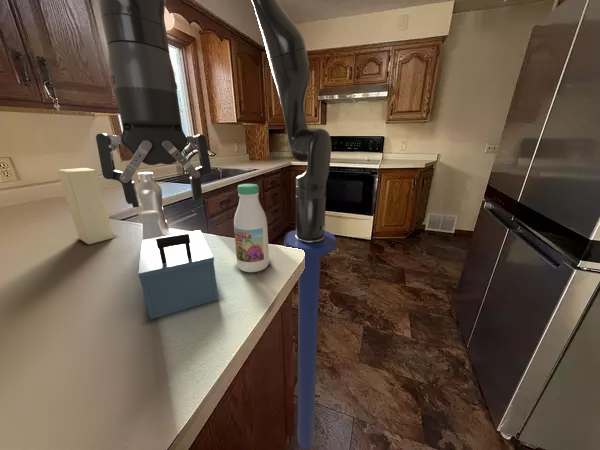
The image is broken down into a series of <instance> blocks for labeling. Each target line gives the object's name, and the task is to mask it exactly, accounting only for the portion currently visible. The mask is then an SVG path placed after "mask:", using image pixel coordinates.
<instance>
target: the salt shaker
mask: <svg viewBox="0 0 600 450" xmlns="http://www.w3.org/2000/svg"><path fill="white" fill-rule="evenodd" d="M137 220H138V222H139V223H141V224H142V240H143V239H149V238H155V237H162V236H163V233H162V231H161V229H160V227H159V224H158V222H157V221H158V220H159V214H158V212H156V211H144V212H143V211H141V212H139V213H138V214H137Z"/></svg>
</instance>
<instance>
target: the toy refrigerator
mask: <svg viewBox="0 0 600 450" xmlns="http://www.w3.org/2000/svg"><path fill="white" fill-rule="evenodd" d="M57 172H58V176H59V179H60V182H61V185H62V189H63V192H64V195H65V199H66V201H67V205H68V208H69V212H70V214H71V218H72V220H73V224H74V227H75V230H76V233H77V236H78V239H79V240H80V241H82V242H84V243H85V244H87V245H92V244H96V243H99V242H103V241H107V240H110V239H114V232H113V228H112V225H111V220H110V217H109V213H108V210H107V209H108V208H107V205H106V201H105V197H104V193H103V190H102V185H101V182H100V179H99V174H98V171H97V169H93V168H90V167H89V168H88V167H79V168H78V167H76V168H64V169H58V170H57Z"/></svg>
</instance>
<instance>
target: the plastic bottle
mask: <svg viewBox="0 0 600 450" xmlns="http://www.w3.org/2000/svg"><path fill="white" fill-rule="evenodd" d="M137 176H138V180H139V181H140V182H139V183H138V185H137V187H136V192H137V196H138V201H139V205H140V207H141V210H142V212H144V211H156V212H158V214H159V220H158V221H157V222H158V224H159V227H160V229H161V231H162V233H163V236H168V234H169V232H170V230H169V229H170V227H169V224H168V221H167V219H166V215H165V212H164V208H163V207H164V205H163V190H162V187H161V186H160V184H159V183H157V181H155V180H154V179H155V176H154V172H152V171H143V172H141V171H140V172H138V173H137Z"/></svg>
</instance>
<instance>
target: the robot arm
mask: <svg viewBox="0 0 600 450" xmlns="http://www.w3.org/2000/svg"><path fill="white" fill-rule="evenodd" d="M166 1H167V0H98V6H99V7H98V8H99V14H100V18H101V23H102V29H103V32H104V33H103V34H104V37H105V41H106V45H107V54H108V64H109V65H108V66H109V71H110V81H111V84H112V85H113V89H114V93H115V98H116V104H117V108H118V112H119V116H120V117H119V118H120V122H121V126H122V133H121V135H117V134H107V133H103V132H101V133H97V134H96V136H95V141H96V146H97V151H98V156H99V163H100V167H101V173H102V176H103V178H104V179H106V180H113V181H117V182H120V184H121V185H122V190H123V194H124V198H125V199H124V200H125V202H126V203H127V204H128V205H132V208H139V207H140V201H139V198H138V195H137V192H136V190H137V187H136V183H135V180H133V176H134V175H135V173H136V172H137V170H138V169H139V167H140V166H141V164H142V163H143V164H145V165H148V166H155V165H159V164H163V165H173V164H175V163H177V162H178V163H179V165H180V166H182V167H183V168H184V170H185V171H186V172H187V173H188V174H189V175H190V176H189V182H190V189H191V197H192V200H193V202H198V201H200V199H199V198H201V197H202V196H203V190H202V181H201V178H202V177H203V176H204V175H207V174H210V173H211V172H212V166H211V160H210V155H209V149H208V143H207V138H206V136H205V135H204V134H196V135H186V134H185V132H184V130H183V123H182V117H181V109H180V103H179V96H178V84H177V82H176V76H175V71H174V67H173V63H172V60H171V55H170V48H169V47H170V46H169V41H168V34H167V27H166V21H165V9H166ZM251 2H252V3H251V4H252V6H253V9H254V12H255V15H256V18H257V22H258V25H259V30H260V32H261V35H262V39H263V43H264V47H265V51H266V55H267V59H268V63H269V66H270V70H271V75H272V77H273V81H274V84H275V87H276V91H277V94H278V99H279V103H280V107H281V110H282V114H283V120H284V125H285V130H286V131H285V132H286V135H287V142H288V146H289V150H290V153H291V155H292V157H293V159H295V160H296V161H298V162H302V163H307V166H306V170H305V171H304V172H303V173H300V174H298V175H296V176H295V230H296V235H295V238H296V240H298V241H299V242H302V243H319V242H321V241H323V240H324V231H325V229H326V228H327V227H326V225H327V224H326V204H327V203H326V201H327V183H328V182H327V181H328V179H329V176H330V167H331V157H332V139H331V134H330V133H329V132H328V131H327V130H326V129H325V128H309V127H308V124H307V118H306V114H305V102H306V97H307V93H308V89H309V84H310V79H311V68H310V63H309V57H308V51H307V48H306V43H305V39H304V36H303V34H302V32H301V30H299V28H298V27H297V25H296V24H295V23H294V21H293V20H292V19H291V17H290V16H289V15H288V14H287V12H286V11H285V10H284V9H283V7H282V6H281V4H280V3H279V1H278V0H251ZM120 144H122V145H123V146H124V147H126V148H127V150H128V151H129V152H131V153H132V154H133V156H132V157H131V158H130V160H129V162H128V163H127V165H126V167H125V168H124V170H123V171H121V170H117V169H116V165H115V159H114V154H113V152H114V151H117V149H118V148H119V145H120ZM188 144H190V145H191V147H192V148H193V150H197V154H198V155H197V156H198V159H199V160H198V161H199V164H200V166H197V167H195V166H194V165H193V164H192V163H191V162H190V160H189V159H187V158H186V157H185V156H184V154H182V153H183V152H184V150H185V149H186V147H187V145H188Z"/></svg>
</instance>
